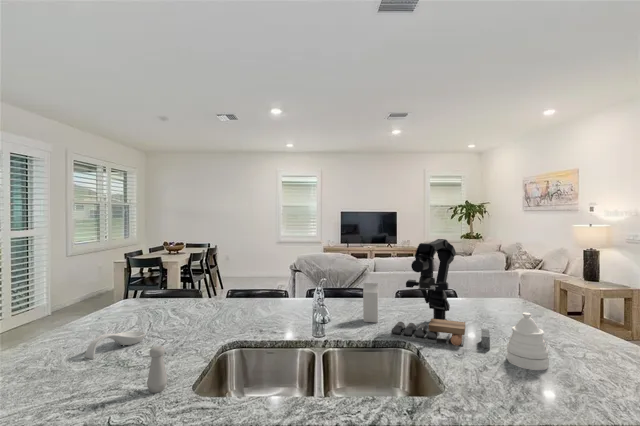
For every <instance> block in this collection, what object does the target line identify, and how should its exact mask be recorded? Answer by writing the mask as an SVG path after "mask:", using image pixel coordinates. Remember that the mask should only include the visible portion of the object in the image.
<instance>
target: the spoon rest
mask: <svg viewBox="0 0 640 426" xmlns="http://www.w3.org/2000/svg"><path fill="white" fill-rule="evenodd" d="M146 335H147V333H146V332H145V331H140V330H138V331H137V330H132V331H124V332H119V333H104V334H101V335H98V336H97V337H95V338H94V339H93V340H92V341H91V342H90V343H89V345H88V347H87V348H86V351H85V354H84V358H86V359H89V360H95V358H96V349H97V347H98V346H99V344H100V343H101V342H102V341H104V340H106V339H111V340H113V341H114V342H116V343H117V344H118V345H120V346H121V345H130V346H133V345H132V344H134V345H136V344H137V343H139V342H141V341H142V340H143V339H144V338H145V336H146ZM135 343H136V344H135Z"/></svg>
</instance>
